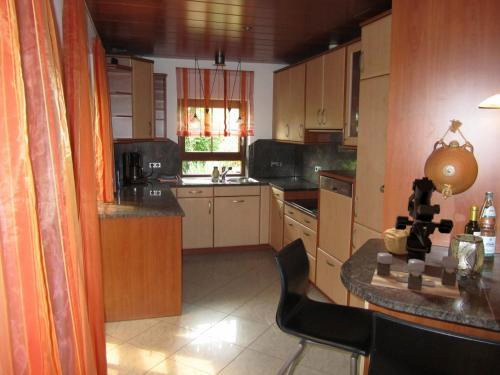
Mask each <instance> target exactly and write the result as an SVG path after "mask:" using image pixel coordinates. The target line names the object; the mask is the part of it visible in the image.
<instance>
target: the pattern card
mask: <svg viewBox="0 0 500 375" xmlns="http://www.w3.org/2000/svg"><path fill="white" fill-rule="evenodd" d="M396 281H398V282H404V283H408V276H405V275H398V274H397V276H396ZM422 285H423V286H429V287H434V280H430V279H424V278H422Z"/></svg>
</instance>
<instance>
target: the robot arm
mask: <svg viewBox="0 0 500 375" xmlns="http://www.w3.org/2000/svg"><path fill="white" fill-rule="evenodd" d="M411 191H413V193H411V195H410V196H409V197H408V203H407V212H408V215H397V216H396V219H395V224H394V228H395V229H397V230H407V227H409V230H408V231H409V236H407V239H406V251H408V253H407V254H406V264H408V262H409V260H410V259H417V260H421V261H424V262H425V263H426V257H427V255H430V254H431V252H432V247H433V246H432V245H433V241H432V240H431V237H430V235H434V233H435V231H436V229H437V231H438V232H439V233H440V234H445V235H446V234H447V235H449V234H451V232H452V231H453V228H454V226H455V225H454V224H455V223H454V221H453V219H449V218H440V221H433V220H434V218H435V217H434V216H435V215H440V213H441V204H439V203H438V204H437V203H434V204H433V205H432V202H431V200H432V197H433V193H435V192H436V191H437V185H436V184H435V182H433V179H429V177H427V176H422V178H414V180H413V181H412V185H411ZM409 217H411V218H412V220H410V218H409ZM426 254H427V255H426Z"/></svg>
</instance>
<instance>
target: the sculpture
mask: <svg viewBox="0 0 500 375" xmlns="http://www.w3.org/2000/svg"><path fill="white" fill-rule="evenodd" d="M409 231H410V230H407V229H405V230H397V229H395V227H392V228H388V229H386V230H385V231H383V241H384V244H385V247H386V249H387V250H388V252H390V254H391V253H392V254H395V255H408V251H406V239H407V236H409Z"/></svg>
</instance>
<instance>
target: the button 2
mask: <svg viewBox="0 0 500 375" xmlns="http://www.w3.org/2000/svg"><path fill="white" fill-rule="evenodd" d="M458 264H459V259H458V258H455V257H454V256H449V255H448V256H447V255H444V256H442V259H441V266H442V267H445V269H444V270H445V273H447V274H453V271H455V270H454V269H456V268H458Z"/></svg>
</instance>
